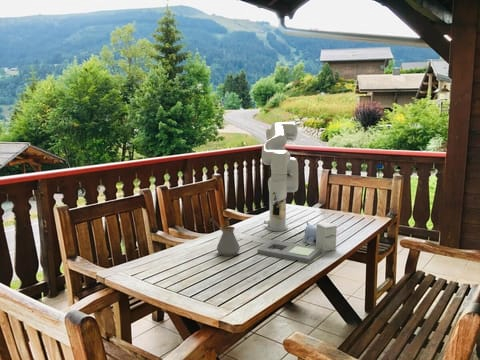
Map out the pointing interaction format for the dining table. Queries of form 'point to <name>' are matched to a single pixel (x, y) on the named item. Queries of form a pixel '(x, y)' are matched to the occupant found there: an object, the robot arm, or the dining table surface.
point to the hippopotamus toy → (310, 233)
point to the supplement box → (326, 236)
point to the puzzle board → (289, 251)
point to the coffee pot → (227, 241)
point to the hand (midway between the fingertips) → (278, 213)
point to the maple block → (280, 211)
